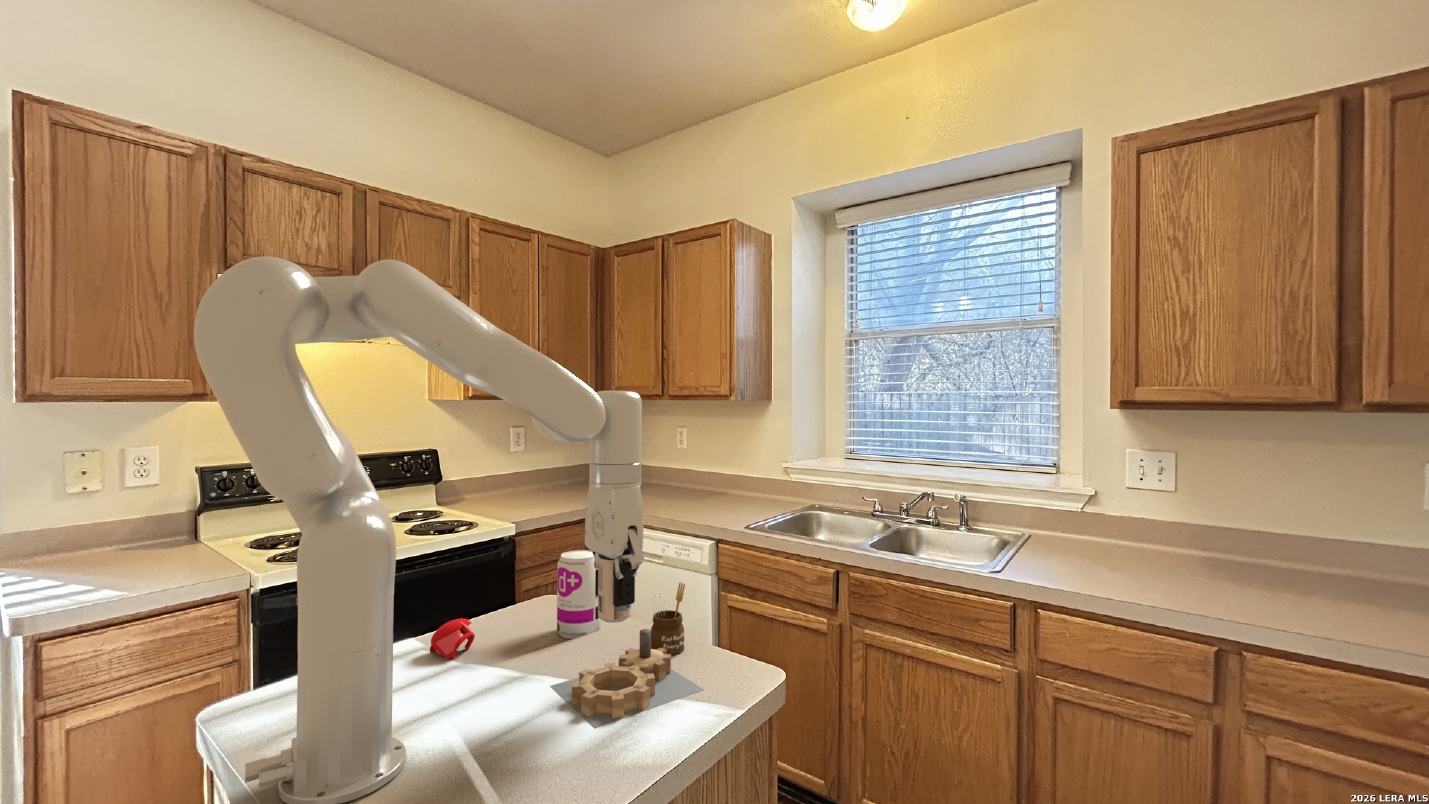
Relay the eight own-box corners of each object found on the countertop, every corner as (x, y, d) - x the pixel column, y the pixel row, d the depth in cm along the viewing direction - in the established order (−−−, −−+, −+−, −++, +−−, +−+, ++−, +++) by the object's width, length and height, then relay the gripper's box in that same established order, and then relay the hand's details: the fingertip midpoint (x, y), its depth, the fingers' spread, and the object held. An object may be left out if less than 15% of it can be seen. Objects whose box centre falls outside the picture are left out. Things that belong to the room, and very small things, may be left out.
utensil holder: (643, 654, 104) (644, 585, 105) (671, 645, 109) (672, 579, 109) (663, 665, 100) (664, 593, 100) (692, 655, 104) (693, 586, 104)
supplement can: (578, 644, 109) (579, 561, 109) (547, 634, 113) (548, 555, 114) (609, 630, 116) (610, 553, 116) (579, 622, 120) (579, 547, 120)
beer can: (624, 625, 84) (625, 540, 84) (592, 622, 85) (593, 538, 85) (635, 614, 89) (636, 533, 89) (605, 611, 90) (606, 531, 90)
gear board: (594, 735, 78) (594, 728, 78) (549, 692, 90) (549, 685, 90) (704, 696, 89) (704, 689, 89) (651, 662, 101) (651, 656, 101)
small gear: (642, 688, 89) (642, 645, 89) (608, 672, 95) (608, 631, 95) (681, 671, 95) (681, 630, 95) (647, 656, 101) (647, 618, 101)
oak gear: (595, 727, 78) (595, 707, 79) (559, 693, 88) (559, 676, 88) (669, 701, 86) (669, 683, 86) (628, 672, 95) (628, 656, 95)
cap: (486, 629, 107) (463, 609, 109) (472, 629, 102) (447, 608, 103) (456, 668, 105) (433, 647, 107) (440, 671, 100) (415, 649, 101)
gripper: (567, 471, 91) (566, 590, 91) (621, 482, 78) (620, 622, 78) (611, 468, 96) (610, 582, 96) (669, 478, 83) (668, 610, 82)
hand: (614, 598), depth 87 cm, fingers closed on beer can, 4 cm apart
